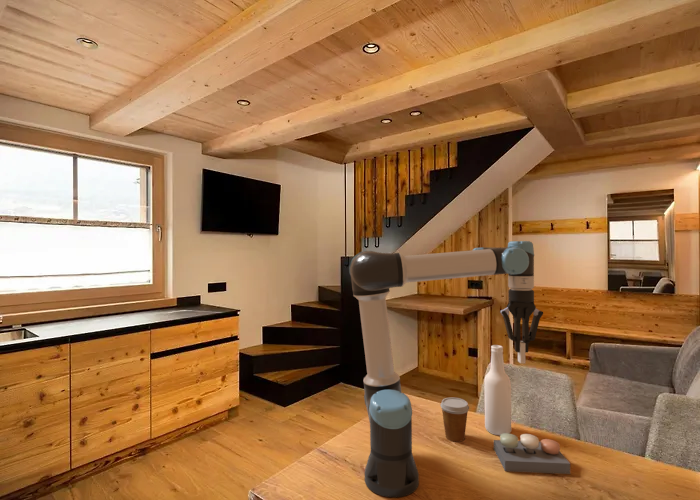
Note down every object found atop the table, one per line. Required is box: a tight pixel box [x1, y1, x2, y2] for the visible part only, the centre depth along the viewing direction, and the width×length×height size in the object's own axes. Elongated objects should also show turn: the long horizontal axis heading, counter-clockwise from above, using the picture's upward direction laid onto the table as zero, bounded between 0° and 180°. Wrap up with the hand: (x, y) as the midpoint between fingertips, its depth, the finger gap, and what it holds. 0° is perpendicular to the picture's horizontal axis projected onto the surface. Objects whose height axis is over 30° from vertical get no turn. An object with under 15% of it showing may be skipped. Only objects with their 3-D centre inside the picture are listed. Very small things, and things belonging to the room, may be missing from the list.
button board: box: [493, 439, 571, 475], centre depth 115 cm, size 18×12×3 cm, turn 84°
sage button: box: [499, 433, 519, 453], centre depth 115 cm, size 5×5×5 cm
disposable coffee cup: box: [439, 397, 470, 442], centre depth 129 cm, size 10×10×12 cm
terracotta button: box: [540, 438, 561, 455], centre depth 114 cm, size 5×5×5 cm
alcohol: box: [483, 344, 512, 437], centre depth 134 cm, size 9×9×30 cm
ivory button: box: [519, 433, 540, 454], centre depth 115 cm, size 5×5×5 cm
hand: (521, 362), depth 121 cm, fingers closed
